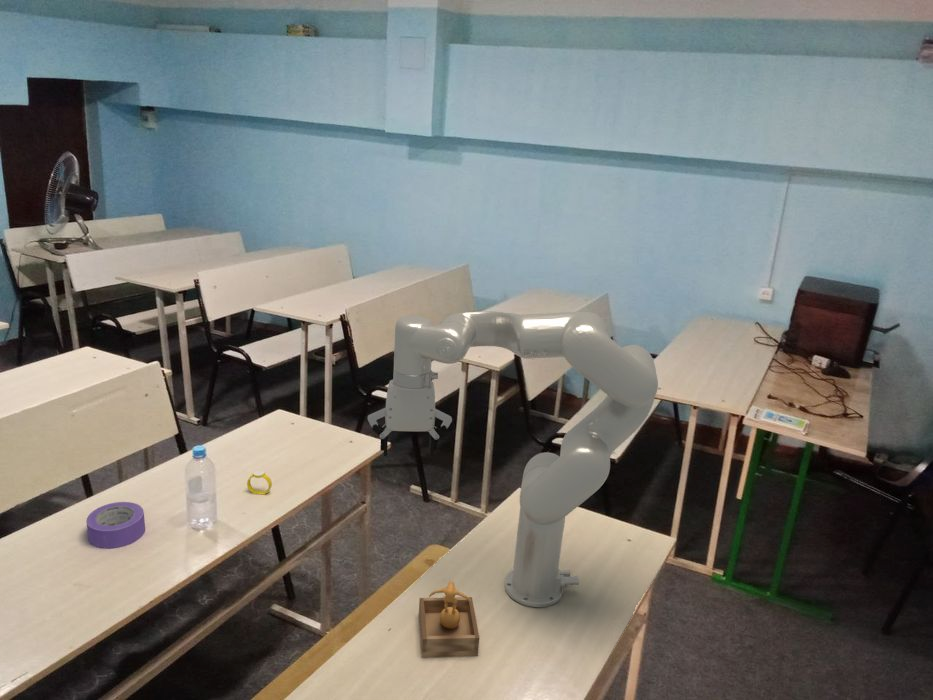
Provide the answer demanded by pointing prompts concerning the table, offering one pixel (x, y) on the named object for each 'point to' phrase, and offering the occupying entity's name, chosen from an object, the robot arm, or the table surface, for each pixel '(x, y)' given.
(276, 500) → the table surface
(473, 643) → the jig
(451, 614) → the figurine
